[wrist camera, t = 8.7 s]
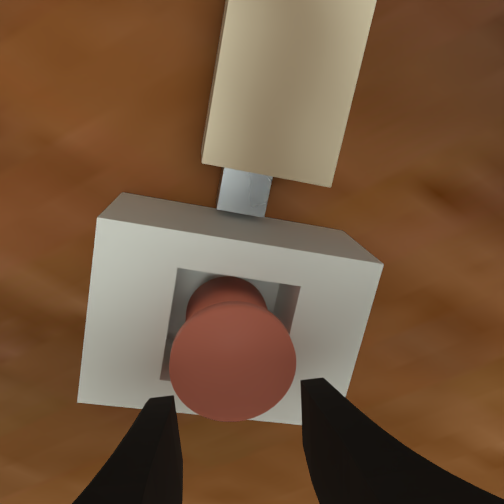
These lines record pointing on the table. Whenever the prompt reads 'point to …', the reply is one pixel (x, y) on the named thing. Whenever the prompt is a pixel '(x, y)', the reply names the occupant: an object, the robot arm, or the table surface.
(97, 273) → the white button housing
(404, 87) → the table surface
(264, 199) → the rail
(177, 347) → the knob
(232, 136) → the block
